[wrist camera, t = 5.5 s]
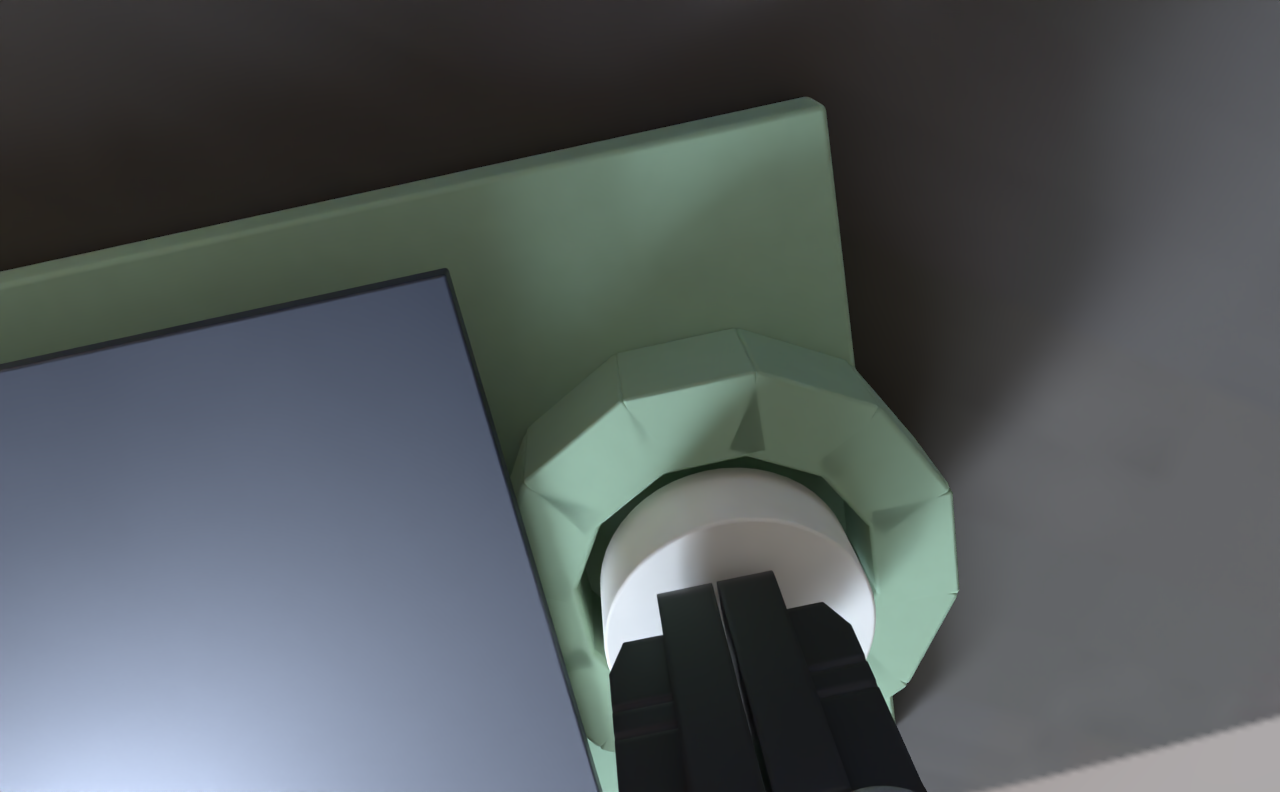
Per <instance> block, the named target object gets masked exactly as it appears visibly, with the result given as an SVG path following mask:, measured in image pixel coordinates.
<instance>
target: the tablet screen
mask: <svg viewBox="0 0 1280 792" xmlns="http://www.w3.org/2000/svg"><path fill="white" fill-rule="evenodd" d="M0 792H603V791H602V787H601V784H600V781H599V777H598V774H597V770H596V767H595V764H594V760H593V757H592V754H591V750H590V747H589V743H588V740H587V737H586V733H585V730H584V726H583V723H582V720H581V716H580V713H579V709H578V706H577V703H576V699H575V696H574V693H573V689H572V686H571V682H570V679H569V676H568V672H567V669H566V665H565V662H564V659H563V655H562V652H561V649H560V645H559V642H558V638H557V635H556V632H555V628H554V625H553V621H552V618H551V615H550V611H549V608H548V604H547V601H546V598H545V594H544V591H543V588H542V584H541V581H540V577H539V574H538V571H537V567H536V564H535V560H534V557H533V554H532V550H531V547H530V544H529V540H528V537H527V533H526V530H525V527H524V523H523V520H522V516H521V513H520V510H519V506H518V503H517V499H516V496H515V493H514V489H513V486H512V483H511V479H510V476H509V472H508V469H507V466H506V462H505V459H504V455H503V452H502V449H501V445H500V442H499V439H498V435H497V432H496V428H495V425H494V422H493V418H492V415H491V411H490V408H489V405H488V401H487V398H486V394H485V391H484V388H483V384H482V381H481V378H480V374H479V371H478V367H477V364H476V361H475V357H474V354H473V350H472V347H471V344H470V340H469V337H468V334H467V330H466V327H465V323H464V320H463V317H462V313H461V310H460V306H459V303H458V300H457V296H456V293H455V289H454V286H453V283H452V279H451V276H450V273H449V270H448V269H447V268H442V269H437V270H433V271H428V272H424V273H419V274H414V275H410V276H405V277H400V278H396V279H391V280H387V281H382V282H377V283H373V284H368V285H363V286H359V287H354V288H350V289H345V290H340V291H336V292H331V293H327V294H322V295H317V296H313V297H308V298H303V299H299V300H294V301H290V302H285V303H280V304H276V305H271V306H266V307H262V308H257V309H253V310H248V311H243V312H239V313H234V314H229V315H225V316H220V317H216V318H211V319H206V320H202V321H197V322H193V323H188V324H183V325H179V326H174V327H169V328H165V329H160V330H156V331H151V332H146V333H142V334H137V335H132V336H128V337H123V338H119V339H114V340H109V341H105V342H100V343H95V344H91V345H86V346H82V347H77V348H72V349H68V350H63V351H59V352H54V353H49V354H45V355H40V356H35V357H31V358H26V359H22V360H17V361H12V362H8V363H3V364H0Z"/></svg>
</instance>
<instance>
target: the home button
mask: <svg viewBox="0 0 1280 792" xmlns="http://www.w3.org/2000/svg"><path fill="white" fill-rule="evenodd" d="M770 570H772V571H773V572H774V575H775V577H776V580H777V583H778V585H779V588H780V591H781V594H782V597H783V599H784V602H785V605H786V608H787V609H789V608H794V607H799V606H804V605H809V604H814V603H819V602H824V603H825V604H827V605H828V606H829V607H830V608H831V609H833V610H834V611H835V612H836V613H838V614H839V615H840V616H841V617H843V618H844V619H845V620H846V621H847V622H849V623H850V624H851V625H852V627H853V630H854V632H855V634H856V636H857V639H858V641H859V643H860V645H861V648H862V650H863V652H864V654H865V658H867V656H868V654H869V652H870V649H871V645H872V642H873V638H874V633H875V624H876V606H875V601H874V596H873V591H872V589H871V586H870V583H869V581H868V578H867V576H866V574H865V572H864V570H863V568H862V566H861V564H860V562H859V560H858V558H857V556H856V554H855V552H854V550H853V548H852V546H851V544H850V542H849V540H848V538H847V536H846V534H845V532H844V530H843V528H842V526H841V524H840V522H839V521H838V519H837V517H836V515H835V514H834V513H833V511H832V510H831V509H830V508H829V506H828V505H827V504H826V503H825V502H824V501H823V500H822V499H821V498H820V497H819V496H817V495H816V494H815V493H814V492H812V491H811V490H809V489H808V488H806V487H805V486H804V485H802V484H800V483H798V482H796V481H794V480H792V479H790V478H788V477H785V476H782V475H779V474H776V473H773V472H769V471H764V470H759V469H751V468H720V469H714V470H707V471H703V472H699V473H695V474H692V475H688V476H685V477H683V478H681V479H678V480H676V481H673V482H671V483H669V484H667V485H665V486H664V487H662V488H660V489H658V490H656V491H655V492H654V493H652V494H651V495H649V496H648V497H647V498H645V499H644V500H643V501H642V502H640V503H639V504H638V505H637V506H636V507H635V508H634V509H633V510H632V511H631V512H630V513H629V514H628V515H627V517H626V518H625V519H624V520H623V521H622V522H621V524H620V525H619V527H618V528H617V530H616V532H615V533H614V535H613V536H612V538H611V541H610V543H609V545H608V547H607V549H606V552H605V556H604V559H603V562H602V568H601V576H600V591H601V606H602V620H603V634H604V649H605V654H606V659H607V664H608V666H609V669H610V671H611V669H612V667H613V664H614V662H615V660H616V658H617V655H618V653H619V651H620V649H621V647H622V644H623V643H624V642H629V641H634V640H639V639H644V638H649V637H654V636H659V635H663V631H662V625H661V619H660V613H659V607H658V601H657V594H659V593H664V592H669V591H674V590H679V589H684V588H688V587H693V586H698V585H703V584H708V583H712V585H713V588H714V592H715V596H716V600H717V604H718V608H719V612H720V615H721V619H722V623H723V627H724V622H723V617H722V611H721V606H720V601H719V595H718V589H717V581H721V580H726V579H731V578H736V577H741V576H746V575H751V574H756V573H761V572H765V571H770ZM724 631H725V628H724ZM725 635H726V633H725ZM726 639H727V638H726Z"/></svg>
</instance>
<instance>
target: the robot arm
mask: <svg viewBox="0 0 1280 792" xmlns="http://www.w3.org/2000/svg"><path fill="white" fill-rule="evenodd" d="M717 589H718V595H719V601H720V606H721V611H722V617H723V622H724V627H723V623H722V619H721V615H720V612H719V608H718V604H717V600H716V596H715V592H714V588H713V585H712V583H708V584H703V585H698V586H693V587H688V588H684V589H679V590H674V591H669V592H664V593H659V594H657V601H658V607H659V613H660V619H661V625H662V631H663V635H659V636H654V637H649V638H644V639H639V640H634V641H629V642H624V643H623V644H622V647H621V649H620V651H619V653H618V655H617V658H616V660H615V662H614V664H613V667H612V669H611V671H610V673H609V680H610V693H611V705H612V711H613V714H612V717H613V729H614V737H615V741H614V742H615V754H616V766H617V779H618V791H619V792H927V791H926V789H925V787H924V786H923V784H922V782H921V780H920V778H919V775H918V773H917V771H916V769H915V766H914V764H913V762H912V760H911V757H910V755H909V753H908V751H907V748H906V746H905V744H904V742H903V739H902V737H901V735H900V733H899V731H898V728H897V726H896V724H895V722H894V719H893V717H892V715H891V713H890V710H889V708H888V706H887V704H886V701H885V699H884V697H883V695H882V692H881V690H880V688H879V687H878V686H877V683H876V679H875V677H874V674H873V672H872V670H871V668H870V666H869V663H868V661H866V658H865V654H864V652H863V650H862V648H861V645H860V643H859V641H858V639H857V636H856V634H855V632H854V630H853V627H852V625H851V624H850V623H849V622H847V621H846V620H845V619H844V618H843V617H841V616H840V615H839V614H838V613H836V612H835V611H834V610H833V609H831V608H830V607H829V606H828V605H827V604H825V603H824V602H819V603H814V604H809V605H804V606H799V607H794V608H789V609H787V608H786V605H785V602H784V599H783V597H782V594H781V591H780V588H779V585H778V583H777V580H776V577H775V575H774V572H773V571H772V570H770V571H765V572H761V573H756V574H751V575H746V576H741V577H736V578H731V579H726V580H721V581H717ZM724 628H725V631H724ZM725 633H726V635H725ZM726 638H727V639H726Z"/></svg>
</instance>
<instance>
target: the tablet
mask: <svg viewBox="0 0 1280 792" xmlns="http://www.w3.org/2000/svg"><path fill="white" fill-rule="evenodd" d="M442 268H447V269H448V270H449V273H450V276H451V279H452V283H453V286H454V289H455V293H456V296H457V300H458V303H459V306H460V310H461V313H462V317H463V320H464V323H465V327H466V330H467V334H468V337H469V340H470V344H471V347H472V350H473V354H474V357H475V361H476V364H477V367H478V371H479V374H480V378H481V381H482V384H483V388H484V391H485V394H486V398H487V401H488V405H489V408H490V411H491V415H492V418H493V422H494V425H495V428H496V432H497V435H498V439H499V442H500V445H501V449H502V452H503V455H504V459H505V462H506V466H507V469H508V472H509V476H510V479H511V483H512V486H513V489H514V493H515V496H516V499H517V503H518V506H519V510H520V513H521V516H522V520H523V523H524V527H525V530H526V533H527V537H528V540H529V544H530V547H531V550H532V554H533V557H534V560H535V564H536V567H537V571H538V574H539V577H540V581H541V584H542V588H543V591H544V594H545V598H546V601H547V604H548V608H549V611H550V615H551V618H552V621H553V625H554V628H555V632H556V635H557V638H558V642H559V645H560V649H561V652H562V655H563V659H564V662H565V665H566V669H567V672H568V676H569V679H570V682H571V686H572V689H573V693H574V696H575V699H576V703H577V706H578V709H579V713H580V716H581V720H582V723H583V726H584V730H585V733H586V737H587V740H588V743H589V747H590V750H591V754H592V757H593V760H594V764H595V767H596V770H597V774H598V777H599V781H600V784H601V787H602V791H603V792H619V791H618V779H617V766H616V754H615V742H614V741H615V737H614V729H613V717H612V714H613V711H612V705H611V693H610V680H609V673H610V669H609V666H608V664H607V659H606V654H605V649H604V634H603V620H602V606H601V591H600V576H601V568H602V562H603V559H604V556H605V552H606V549H607V547H608V545H609V543H610V541H611V538H612V536H613V535H614V533H615V532H616V530H617V528H618V527H619V525H620V524H621V522H622V521H623V520H624V519H625V518H626V517H627V515H628V514H629V513H630V512H631V511H632V510H633V509H634V508H635V507H636V506H637V505H638V504H639V503H640V502H642V501H643V500H644V499H645V498H647V497H648V496H649V495H651V494H652V493H654V492H655V491H656V490H658V489H660V488H662V487H664V486H665V485H667V484H669V483H671V482H673V481H676V480H678V479H681V478H683V477H685V476H688V475H692V474H695V473H699V472H703V471H707V470H714V469H720V468H751V469H759V470H764V471H769V472H773V473H776V474H779V475H782V476H785V477H788V478H790V479H792V480H794V481H796V482H798V483H800V484H802V485H804V486H805V487H806V488H808V489H809V490H811V491H812V492H814V493H815V494H816V495H817V496H819V497H820V498H821V499H822V500H823V501H824V502H825V503H826V504H827V505H828V506H829V508H830V509H831V510H832V511H833V513H834V514H835V515H836V517H837V519H838V521H839V522H840V524H841V526H842V528H843V530H844V532H845V534H846V536H847V538H848V540H849V542H850V544H851V546H852V548H853V550H854V552H855V554H856V556H857V558H858V560H859V562H860V564H861V566H862V568H863V570H864V572H865V574H866V576H867V578H868V581H869V583H870V586H871V589H872V591H873V596H874V601H875V606H876V624H875V633H874V638H873V642H872V645H871V649H870V652H869V654H868V656H867V658H866V661H868V663H869V666H870V668H871V670H872V672H873V674H874V677H875V679H876V683H877V686H878V687H879V688H880V690H881V692H882V695H883V697H884V699H885V701H886V704H887V706H888V708H889V710H890V713H891V715H892V717H893V719H894V722H895V714H894V705H893V695H894V694H896V693H897V692H898V691H900V690H901V689H903V688H904V687H905V686H906V685H907V683H908V682H909V681H910V680H911V678H912V676H913V675H914V673H915V671H916V669H917V667H918V666H919V664H920V662H921V660H922V658H923V656H924V655H925V653H926V651H927V649H928V647H929V646H930V644H931V642H932V640H933V638H934V637H935V635H936V633H937V631H938V629H939V628H940V626H941V624H942V622H943V620H944V619H945V617H946V615H947V613H948V611H949V610H950V608H951V606H952V604H953V602H954V601H955V599H956V597H957V592H958V591H959V578H958V564H957V550H956V536H955V522H954V508H953V494H952V491H951V489H950V488H949V486H948V483H947V482H946V480H945V479H944V477H943V476H942V475H941V473H940V472H939V471H938V469H937V468H936V467H935V465H934V464H933V462H932V461H931V460H930V458H929V457H928V456H927V454H926V453H925V452H924V450H923V449H922V447H921V446H920V445H919V443H918V442H917V441H916V439H915V438H914V437H913V435H912V434H911V433H910V432H909V431H908V430H907V428H906V427H905V426H904V425H903V424H902V423H901V421H900V420H899V419H898V418H897V417H896V416H895V414H894V413H893V412H892V411H891V410H890V409H889V407H888V406H887V405H886V404H885V403H884V402H883V401H882V399H881V398H880V397H879V396H878V395H877V394H876V392H875V391H874V390H873V389H872V388H871V387H870V385H869V384H868V383H867V382H866V381H865V380H864V378H863V377H862V376H861V375H860V374H859V373H858V371H857V370H856V369H855V361H854V353H853V344H852V335H851V326H850V317H849V309H848V300H847V291H846V282H845V273H844V264H843V256H842V247H841V238H840V229H839V220H838V212H837V203H836V194H835V185H834V176H833V168H832V159H831V150H830V141H829V132H828V124H827V115H826V109H825V107H824V106H823V105H822V104H820V103H819V102H817V101H815V100H813V99H812V98H810V97H801V98H797V99H792V100H787V101H783V102H778V103H774V104H769V105H764V106H760V107H755V108H751V109H746V110H741V111H737V112H732V113H728V114H723V115H718V116H714V117H709V118H705V119H700V120H695V121H691V122H686V123H682V124H677V125H673V126H668V127H663V128H659V129H654V130H650V131H645V132H640V133H636V134H631V135H627V136H622V137H617V138H613V139H608V140H604V141H599V142H594V143H590V144H585V145H581V146H576V147H571V148H567V149H562V150H558V151H553V152H548V153H544V154H539V155H535V156H530V157H525V158H521V159H516V160H512V161H507V162H502V163H498V164H493V165H489V166H484V167H479V168H475V169H470V170H466V171H461V172H456V173H452V174H447V175H443V176H438V177H434V178H429V179H424V180H420V181H415V182H411V183H406V184H401V185H397V186H392V187H388V188H383V189H378V190H374V191H369V192H365V193H360V194H355V195H351V196H346V197H342V198H337V199H332V200H328V201H323V202H319V203H314V204H309V205H305V206H300V207H296V208H291V209H286V210H282V211H277V212H273V213H268V214H263V215H259V216H254V217H250V218H245V219H240V220H236V221H231V222H227V223H222V224H217V225H213V226H208V227H204V228H199V229H195V230H190V231H185V232H181V233H176V234H172V235H167V236H162V237H158V238H153V239H149V240H144V241H139V242H135V243H130V244H126V245H121V246H116V247H112V248H107V249H103V250H98V251H93V252H89V253H84V254H80V255H75V256H70V257H66V258H61V259H57V260H52V261H47V262H43V263H38V264H34V265H29V266H24V267H20V268H15V269H11V270H6V271H1V272H0V364H3V363H8V362H12V361H17V360H22V359H26V358H31V357H35V356H40V355H45V354H49V353H54V352H59V351H63V350H68V349H72V348H77V347H82V346H86V345H91V344H95V343H100V342H105V341H109V340H114V339H119V338H123V337H128V336H132V335H137V334H142V333H146V332H151V331H156V330H160V329H165V328H169V327H174V326H179V325H183V324H188V323H193V322H197V321H202V320H206V319H211V318H216V317H220V316H225V315H229V314H234V313H239V312H243V311H248V310H253V309H257V308H262V307H266V306H271V305H276V304H280V303H285V302H290V301H294V300H299V299H303V298H308V297H313V296H317V295H322V294H327V293H331V292H336V291H340V290H345V289H350V288H354V287H359V286H363V285H368V284H373V283H377V282H382V281H387V280H391V279H396V278H400V277H405V276H410V275H414V274H419V273H424V272H428V271H433V270H437V269H442ZM895 724H896V723H895Z"/></svg>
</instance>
